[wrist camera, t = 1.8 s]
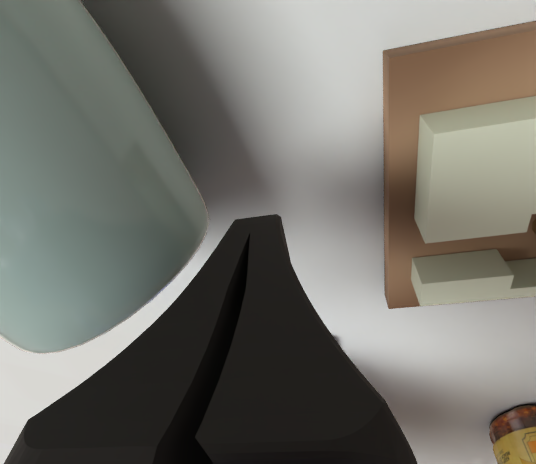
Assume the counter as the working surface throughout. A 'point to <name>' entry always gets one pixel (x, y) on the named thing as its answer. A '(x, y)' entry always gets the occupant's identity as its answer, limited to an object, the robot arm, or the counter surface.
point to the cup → (82, 183)
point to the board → (436, 100)
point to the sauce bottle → (515, 436)
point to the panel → (475, 199)
